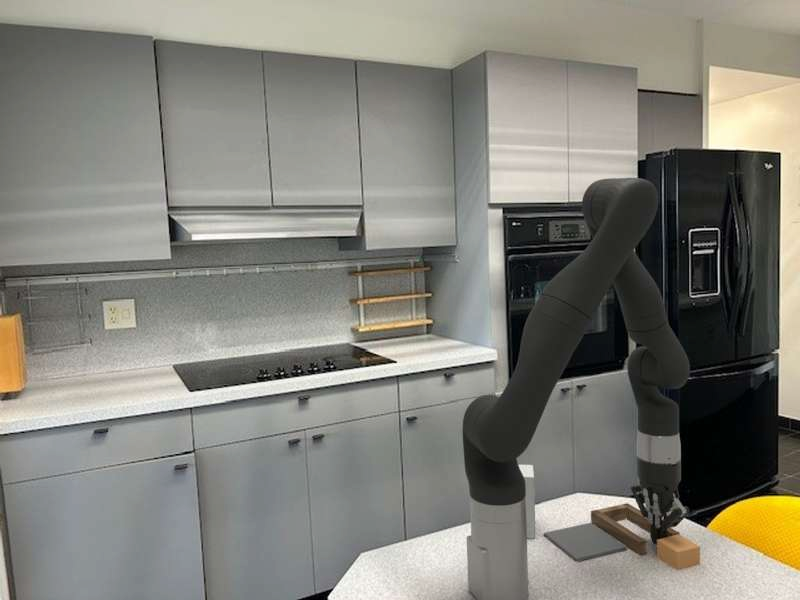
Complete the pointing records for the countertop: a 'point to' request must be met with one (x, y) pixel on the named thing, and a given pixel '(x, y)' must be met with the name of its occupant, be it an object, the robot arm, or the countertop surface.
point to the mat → (584, 541)
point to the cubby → (608, 524)
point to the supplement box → (529, 498)
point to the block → (678, 552)
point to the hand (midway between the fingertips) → (659, 544)
